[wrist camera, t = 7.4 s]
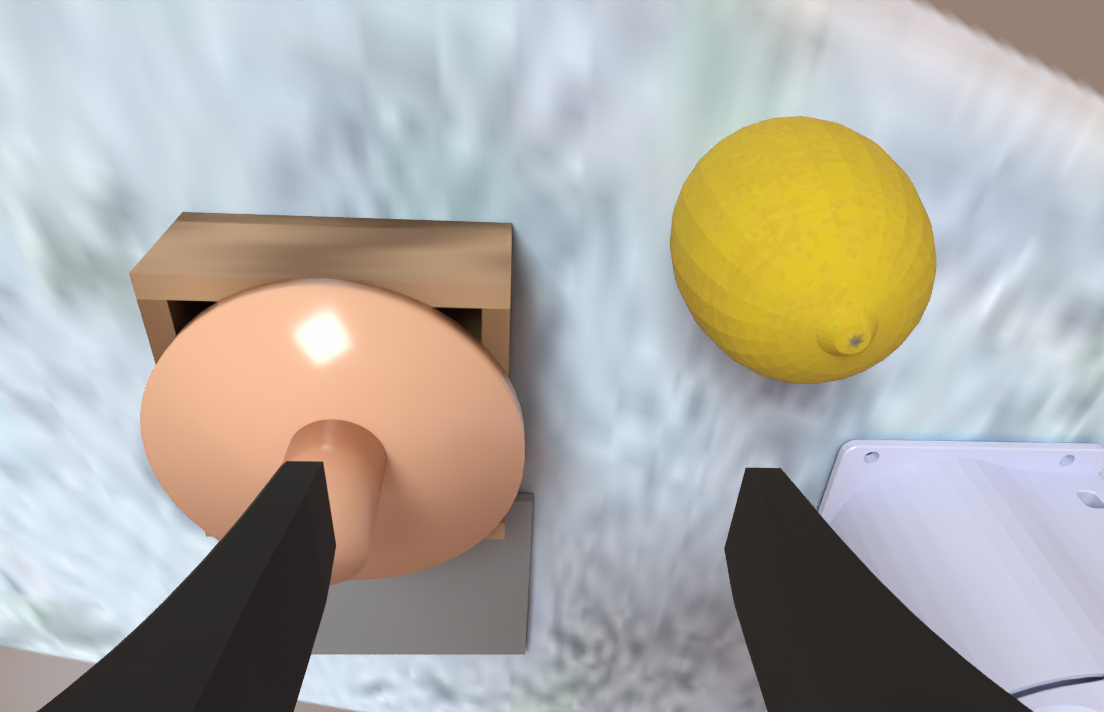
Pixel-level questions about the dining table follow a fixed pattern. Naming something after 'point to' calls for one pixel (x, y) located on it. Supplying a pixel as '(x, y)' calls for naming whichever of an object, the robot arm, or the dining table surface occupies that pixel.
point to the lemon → (802, 250)
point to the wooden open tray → (330, 268)
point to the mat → (440, 602)
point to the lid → (339, 419)
